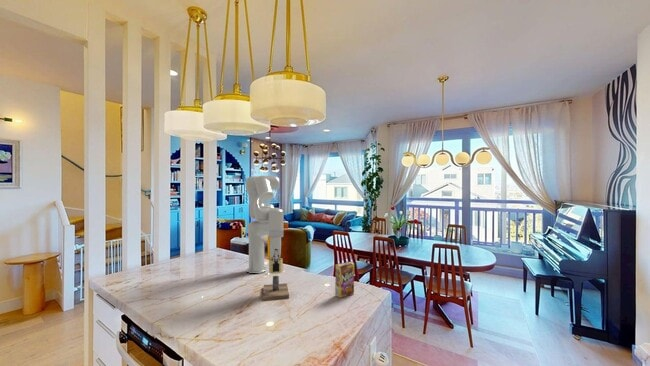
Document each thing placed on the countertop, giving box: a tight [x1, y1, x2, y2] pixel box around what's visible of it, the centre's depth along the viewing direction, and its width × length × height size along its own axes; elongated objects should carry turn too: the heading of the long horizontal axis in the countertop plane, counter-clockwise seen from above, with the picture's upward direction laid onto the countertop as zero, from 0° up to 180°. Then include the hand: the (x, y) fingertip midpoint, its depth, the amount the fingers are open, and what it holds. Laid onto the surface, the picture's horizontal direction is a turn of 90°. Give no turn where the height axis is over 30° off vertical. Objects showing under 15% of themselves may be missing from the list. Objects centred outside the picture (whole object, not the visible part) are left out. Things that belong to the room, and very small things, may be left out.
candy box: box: [334, 261, 355, 299], centre depth 127 cm, size 9×4×15 cm, turn 123°
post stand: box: [262, 275, 290, 301], centre depth 130 cm, size 16×12×8 cm
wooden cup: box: [268, 257, 284, 275], centre depth 130 cm, size 7×7×6 cm
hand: (275, 269), depth 130 cm, fingers closed on wooden cup, 6 cm apart
